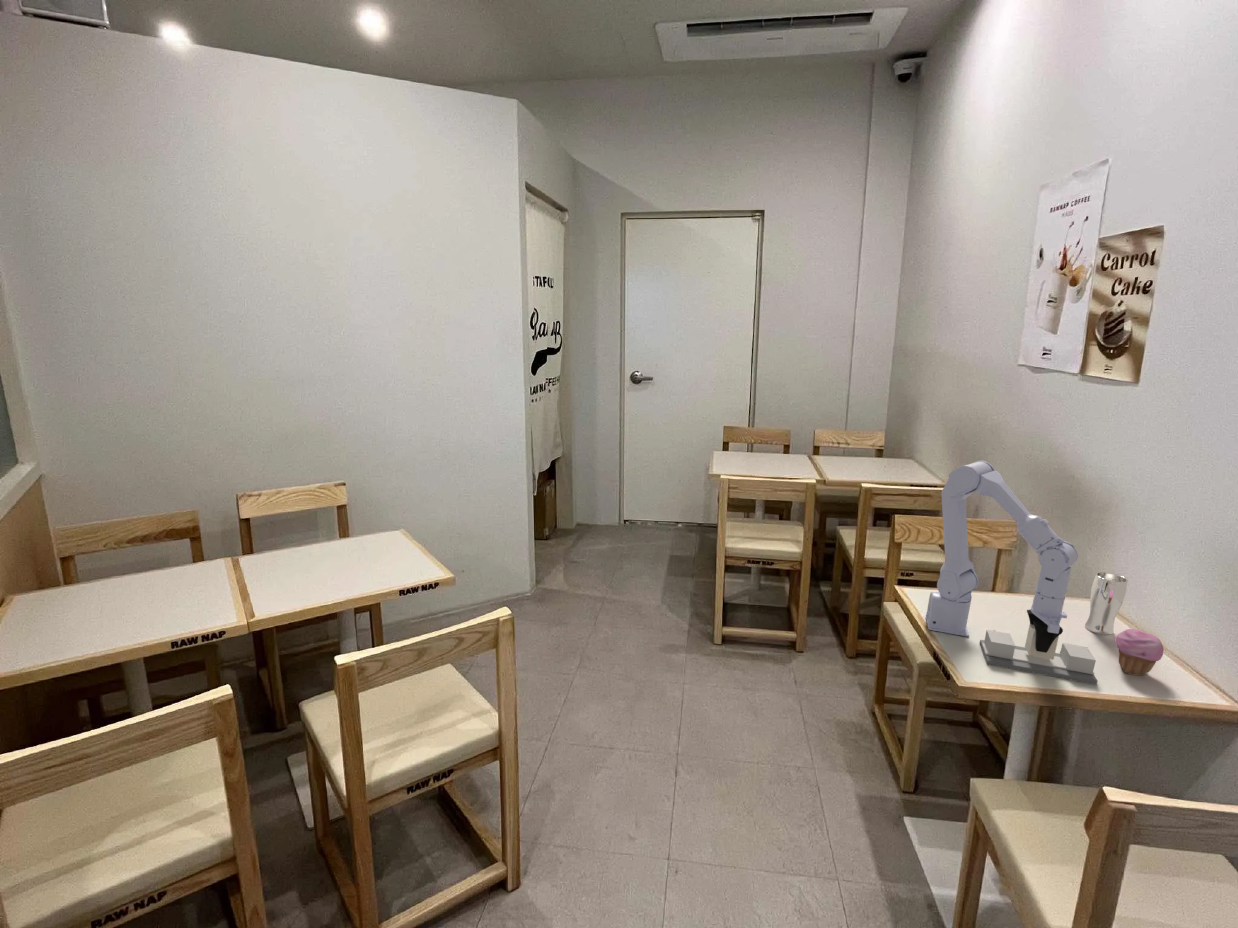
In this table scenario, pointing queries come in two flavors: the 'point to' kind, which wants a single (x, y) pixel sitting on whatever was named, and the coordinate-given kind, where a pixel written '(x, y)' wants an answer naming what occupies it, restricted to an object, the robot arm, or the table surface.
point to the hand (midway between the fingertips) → (1038, 646)
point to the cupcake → (1138, 651)
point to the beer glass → (1105, 602)
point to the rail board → (1039, 658)
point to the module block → (1032, 648)
